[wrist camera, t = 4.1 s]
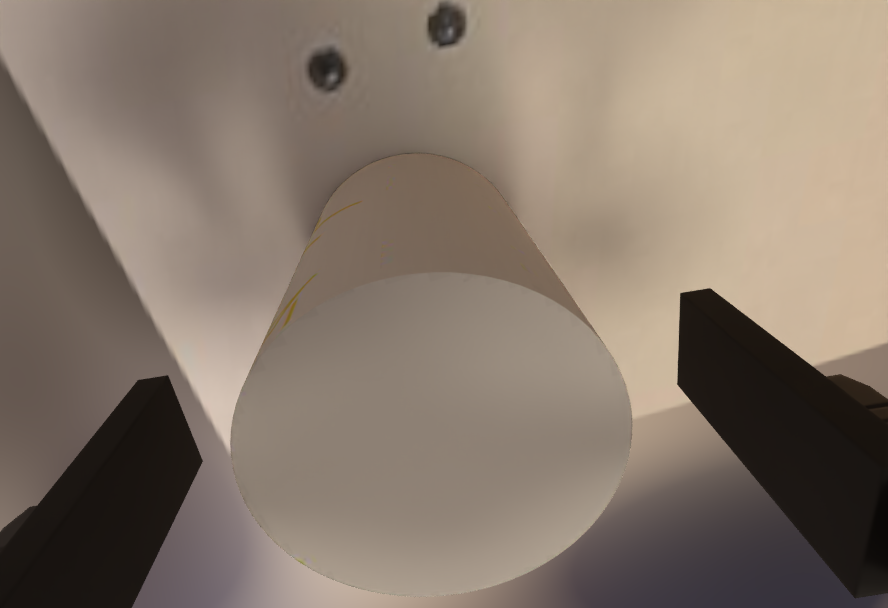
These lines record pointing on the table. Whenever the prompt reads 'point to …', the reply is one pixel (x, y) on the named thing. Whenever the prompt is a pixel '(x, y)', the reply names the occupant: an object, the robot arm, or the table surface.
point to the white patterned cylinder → (427, 393)
